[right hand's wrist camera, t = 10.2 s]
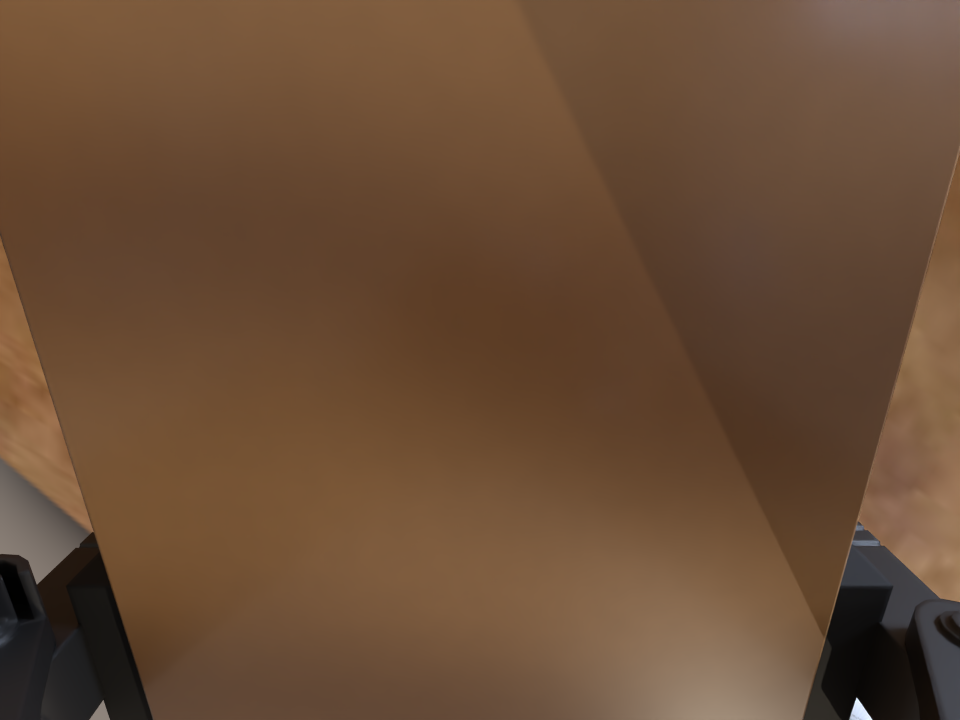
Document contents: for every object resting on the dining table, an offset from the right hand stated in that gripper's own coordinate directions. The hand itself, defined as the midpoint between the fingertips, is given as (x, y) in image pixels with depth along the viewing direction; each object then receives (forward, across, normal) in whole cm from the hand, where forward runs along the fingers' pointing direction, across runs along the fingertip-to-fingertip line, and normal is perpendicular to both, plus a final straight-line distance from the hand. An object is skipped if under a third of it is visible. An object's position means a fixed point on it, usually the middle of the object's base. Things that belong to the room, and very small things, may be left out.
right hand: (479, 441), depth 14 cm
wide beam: (+1, 0, -26) cm, 27 cm away
